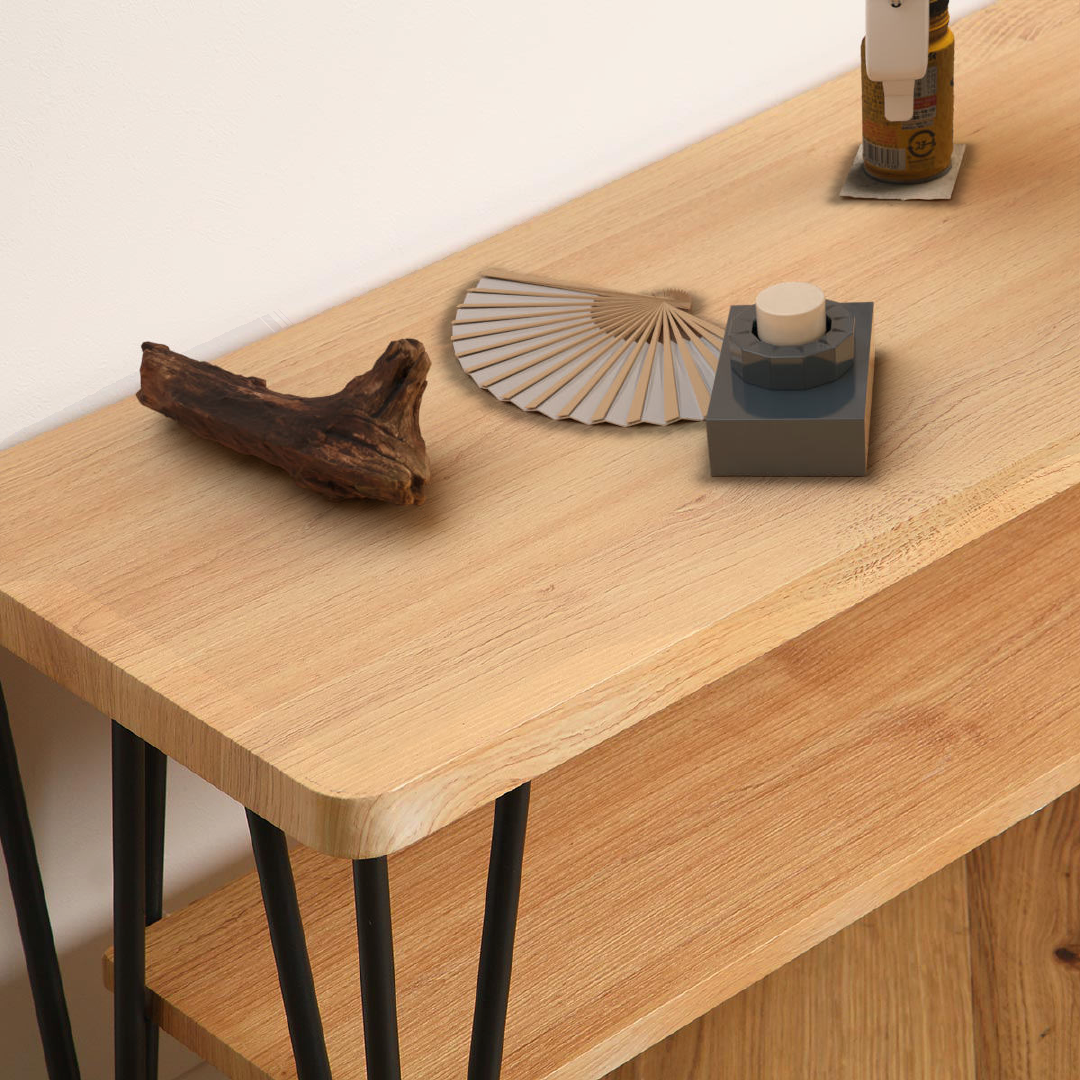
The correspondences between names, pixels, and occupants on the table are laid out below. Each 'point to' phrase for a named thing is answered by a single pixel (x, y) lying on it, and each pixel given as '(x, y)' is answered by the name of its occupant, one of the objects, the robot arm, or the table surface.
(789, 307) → the cream cylinder plug
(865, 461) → the grey socket base
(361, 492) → the driftwood
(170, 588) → the table surface
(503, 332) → the hand fan
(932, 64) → the condiment
